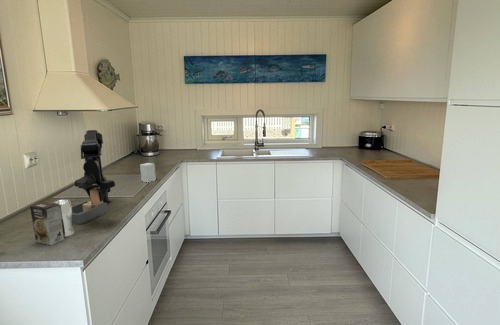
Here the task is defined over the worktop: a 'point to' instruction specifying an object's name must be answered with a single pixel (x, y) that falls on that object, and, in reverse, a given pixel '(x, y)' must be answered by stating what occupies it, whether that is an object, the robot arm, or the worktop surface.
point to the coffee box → (47, 223)
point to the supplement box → (147, 172)
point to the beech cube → (88, 206)
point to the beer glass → (66, 217)
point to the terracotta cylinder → (95, 197)
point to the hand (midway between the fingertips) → (96, 200)
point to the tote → (87, 213)
